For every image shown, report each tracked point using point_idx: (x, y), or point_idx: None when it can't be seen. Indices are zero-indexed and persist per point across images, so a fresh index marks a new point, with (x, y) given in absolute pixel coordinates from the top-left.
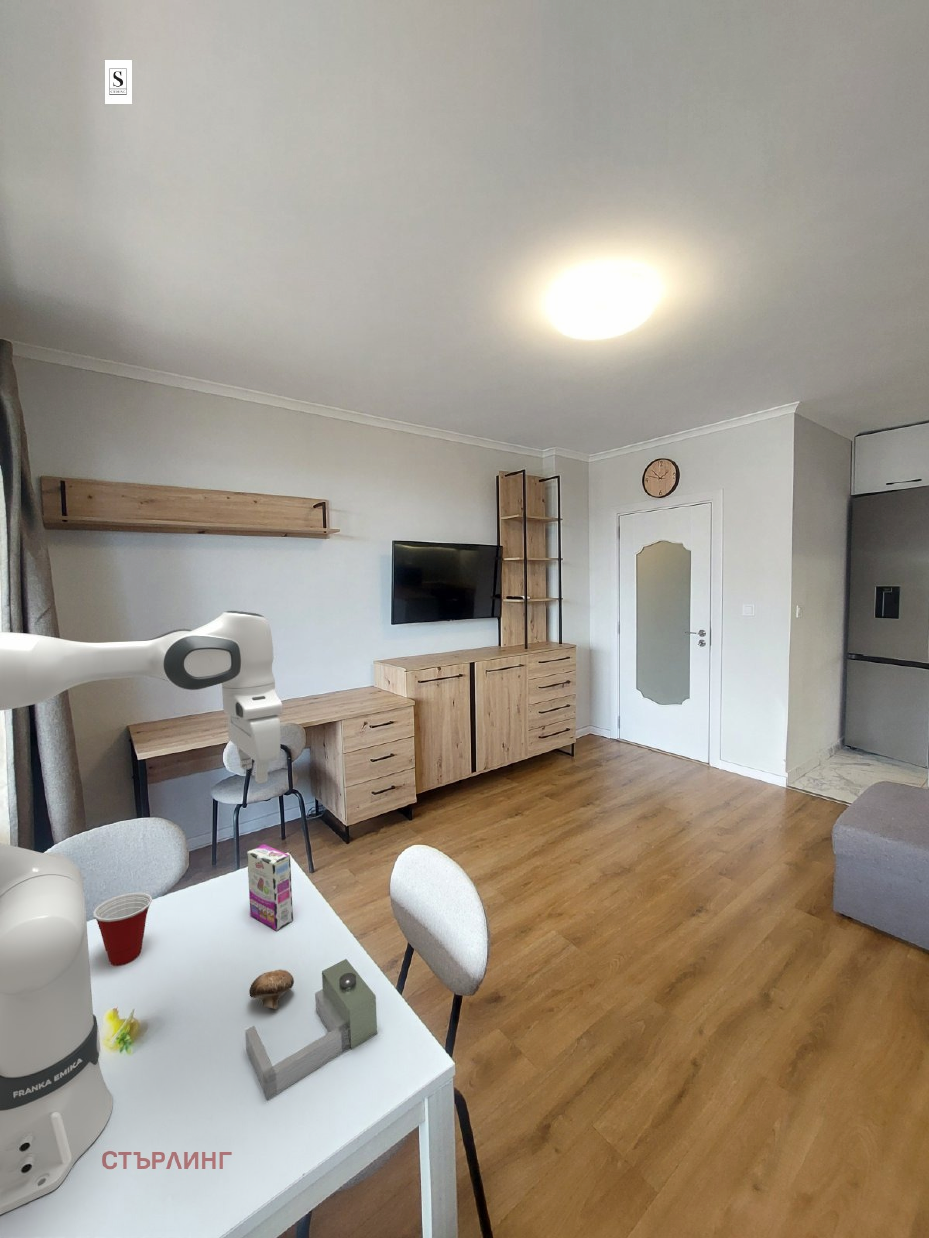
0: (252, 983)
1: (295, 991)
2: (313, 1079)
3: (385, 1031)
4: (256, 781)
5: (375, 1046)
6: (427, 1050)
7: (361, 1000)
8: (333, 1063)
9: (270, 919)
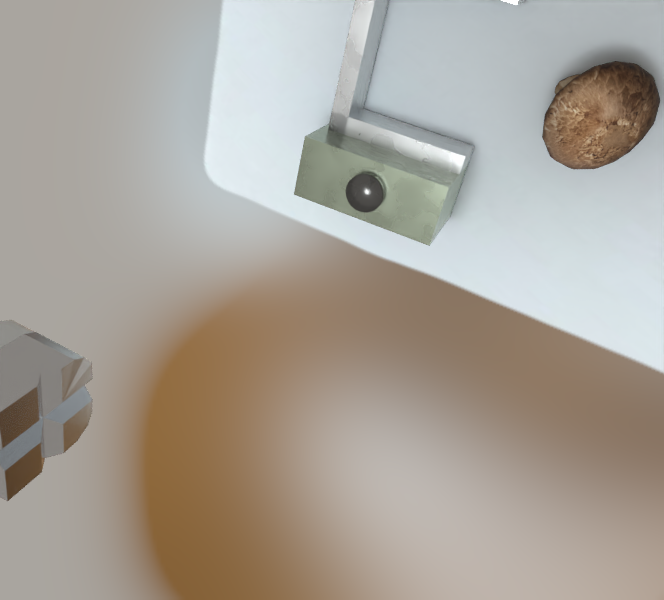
0: (638, 80)
1: None
2: (347, 30)
3: None
4: (34, 335)
5: None
6: (239, 189)
7: (307, 169)
8: None
9: None
